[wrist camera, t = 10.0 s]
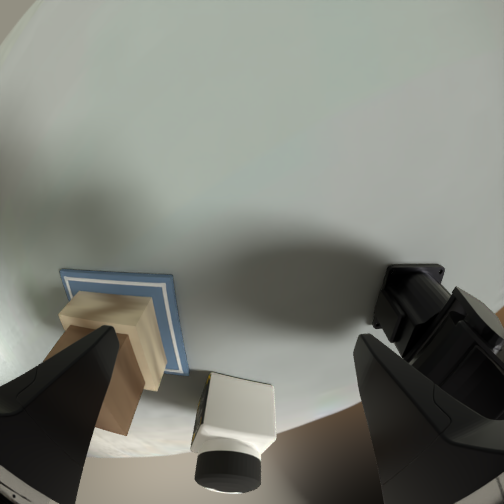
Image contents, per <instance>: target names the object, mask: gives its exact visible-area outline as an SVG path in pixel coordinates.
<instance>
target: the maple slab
mask: <svg viewBox="0 0 504 504" xmlns="http://www.w3.org/2000/svg"><path fill="white" fill-rule="evenodd" d="M58 316H59V318H60V320H61V323H62V325H63V328H64V330H65V331H66V330H67V328H68V327H69V326H70V325H74V326H79V327H85V328H90V329H97V328H99V327H101V326H102V325H110V326H113V327H114V329H115V331H116V333H121V334H128V335H129V339H130V342H131V345H132V348H133V351H134V353H135V356H136V359H137V362H138V365H139V367H140V370H141V373H142V375H143V378H144V380H145V386H144V389H146V390H152V391H158V388H159V385H160V382H161V379H162V376H163V373H164V370H165V367H166V364H167V359H166V355H165V351H164V348H163V344H162V340H161V336H160V332H159V327H158V323H157V319H156V314H155V310H154V305H153V300H152V297H142V296H129V295H117V294H106V293H96V292H86V291H79V292H78V293H77V294H76V295H75V296H74V297H73V298H72V299H71V300H70V301H69V303H68V304H67V305H66V306H65V307H64V308H63V309H62V310H61V312H60V313H59V314H58Z"/></svg>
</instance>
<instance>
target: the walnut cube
mask: <svg viewBox="0 0 504 504" xmlns="http://www.w3.org/2000/svg"><path fill="white" fill-rule="evenodd" d="M94 330H96V329H90V328H85V327H79V326H74V325H70V326H69V327H68V328H67V330H66V331H65V332H64V334H63V335H62V336H61V337H60V339H59V340H58V341H57V343H56V344H55V346H54V347H53V348H52V350H51V351H50V352H49V354H48V355H47V357H46V358H45V359H44V361H45V360H47V359H49V358H50V357H52V356H53V355H55V354H57V353H58V352H60V351H62V350H63V349H65V348H66V347H68V346H70V345H71V344H73V343H74V342H76V341H78V340H79V339H81V338H83V337H84V336H86V335H88V334H89V333H91V332H92V331H94ZM116 334H117V337H118V340H119V344H120V346H119V351H118V355H117V358H116V362H115V366H114V370H113V374H112V378H111V381H110V384H109V387H108V390H107V392H106V395H105V398H104V401H103V404H102V407H101V410H100V413H99V416H98V419H97V422H96V425H95V427H97V428H100V429H103V430H107V431H110V432H113V433H117V434H121V435H124V436H127V434H128V431H129V428H130V425H131V422H132V419H133V417H134V414H135V411H136V408H137V405H138V402H139V400H140V397H141V394H142V391H143V389H144V386H145V380H144V378H143V375H142V373H141V370H140V367H139V365H138V362H137V359H136V356H135V353H134V351H133V348H132V345H131V342H130V339H129V335H128V334H121V333H116ZM44 361H43V362H44Z"/></svg>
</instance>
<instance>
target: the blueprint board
mask: <svg viewBox="0 0 504 504" xmlns="http://www.w3.org/2000/svg"><path fill="white" fill-rule="evenodd" d="M59 272H60V275H61V278H62V282H63V285H64V288H65V291H66V294H67V297H68V300H69V301H70V300H71V299H72V298H73V297H74V296H75V295H76V294H77V293H78V292H79V291H86V292H96V293H106V294H117V295H129V296H142V297H152V300H153V305H154V310H155V314H156V319H157V323H158V327H159V332H160V336H161V340H162V344H163V348H164V351H165V355H166V359H167V364H166V367H165V370H164V373H165V374H173V375H182V376H189V373H190V372H189V367H188V363H187V358H186V353H185V348H184V343H183V338H182V332H181V327H180V321H179V315H178V309H177V303H176V297H175V290H174V283H173V276H172V275H166V274H142V273H122V272H104V271H87V270H71V269H61V270H60V271H59Z"/></svg>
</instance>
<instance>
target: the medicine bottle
mask: <svg viewBox="0 0 504 504" xmlns="http://www.w3.org/2000/svg"><path fill="white" fill-rule="evenodd" d="M275 440H276V418H275V397H274V387H273V386H272V385H268V384H263V383H258V382H253V381H248V380H243V379H239V378H234V377H230V376H226V375H222V374H218V373H214V372H212V373H210V374H209V376H208V379H207V382H206V385H205V387H204V390H203V393H202V396H201V398H200V401H199V404H198V409H197V414H196V420H195V425H194V431H193V437H192V442H191V448H190V449H191V451H192V452H194V453H198V458H197V465H196V472H195V481H196V482H197V483H198V484H199V485H201V486H202V487H204V488H206V489H208V490H212V491H215V492H220V493H231V494H237V493H245V492H249V491H252V490H255V489H257V488H258V487H259V486H260V485H261V454H262V453H263V452H264V451H265V450H266V449H267V448H268V447H269V446H270V445H271V444H272V443H273V442H274V441H275Z"/></svg>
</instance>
